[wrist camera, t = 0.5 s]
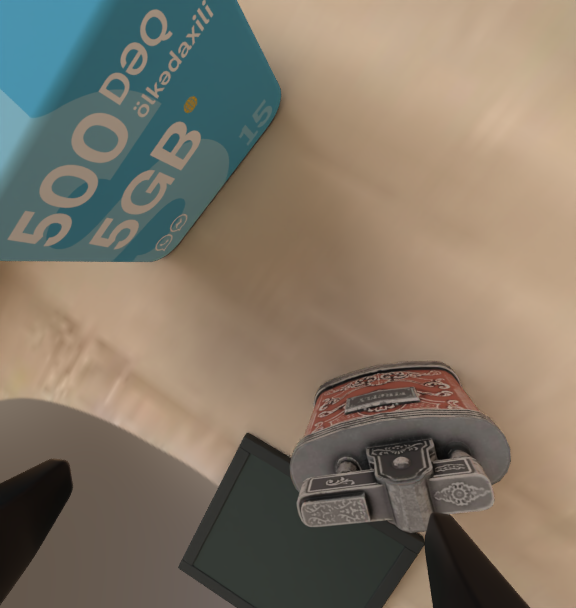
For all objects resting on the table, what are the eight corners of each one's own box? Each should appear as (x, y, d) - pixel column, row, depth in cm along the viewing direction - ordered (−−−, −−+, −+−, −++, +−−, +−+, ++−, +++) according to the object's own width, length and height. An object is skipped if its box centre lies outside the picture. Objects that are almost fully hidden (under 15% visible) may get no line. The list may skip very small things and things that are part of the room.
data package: (165, 263, 23) (-47, 264, 11) (115, 216, 23) (-139, 169, 12) (289, 101, 20) (180, -121, 8) (230, 51, 20) (50, -229, 9)
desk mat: (423, 536, 21) (425, 544, 21) (337, 665, 23) (336, 675, 23) (247, 432, 23) (244, 436, 22) (182, 561, 25) (177, 568, 24)
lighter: (450, 350, 20) (531, 436, 10) (464, 409, 20) (557, 549, 10) (309, 378, 22) (261, 473, 12) (323, 432, 22) (288, 568, 12)
